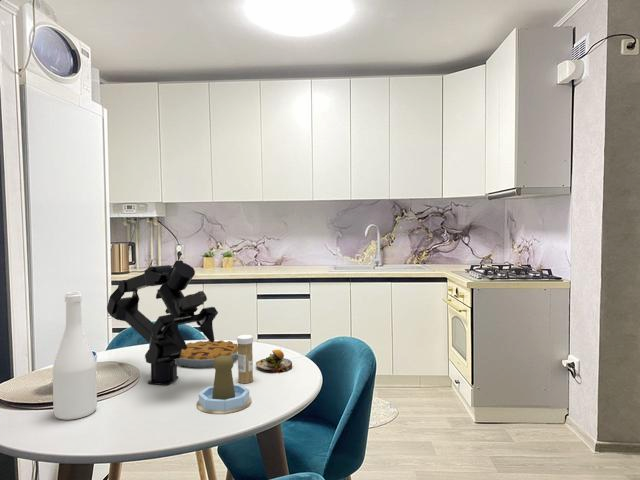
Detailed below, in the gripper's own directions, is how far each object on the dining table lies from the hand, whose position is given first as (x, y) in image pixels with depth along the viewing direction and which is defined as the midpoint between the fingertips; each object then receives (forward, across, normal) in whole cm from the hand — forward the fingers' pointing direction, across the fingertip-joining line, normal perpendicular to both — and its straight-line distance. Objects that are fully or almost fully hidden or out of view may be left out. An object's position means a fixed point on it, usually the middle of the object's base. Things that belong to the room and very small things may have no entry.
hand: (200, 345), depth 127 cm
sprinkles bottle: (+11, +15, +8) cm, 20 cm away
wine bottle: (0, -27, +20) cm, 33 cm away
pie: (-8, +22, +27) cm, 36 cm away
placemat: (+17, 0, +3) cm, 17 cm away
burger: (+10, +30, +10) cm, 33 cm away
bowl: (+17, 0, +3) cm, 17 cm away
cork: (+16, 0, +2) cm, 16 cm away
